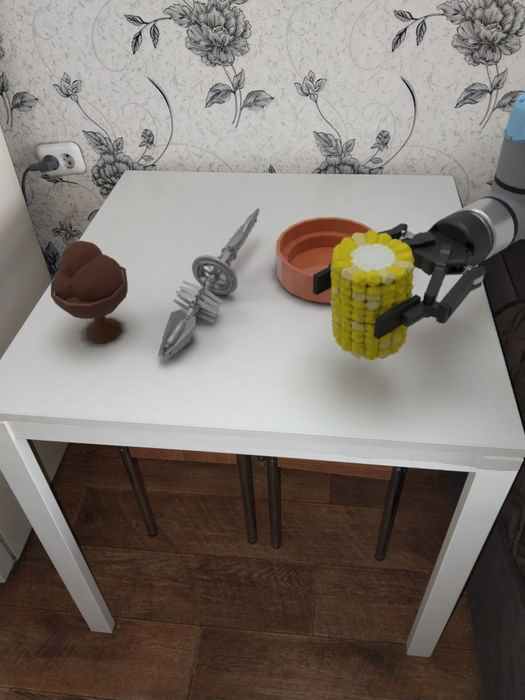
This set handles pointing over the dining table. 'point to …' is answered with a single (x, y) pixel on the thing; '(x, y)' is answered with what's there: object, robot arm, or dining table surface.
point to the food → (369, 291)
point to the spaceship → (204, 291)
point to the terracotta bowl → (311, 252)
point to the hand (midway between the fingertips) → (344, 306)
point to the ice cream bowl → (90, 288)
